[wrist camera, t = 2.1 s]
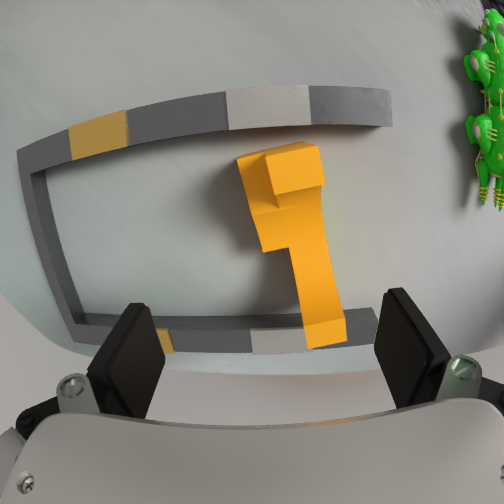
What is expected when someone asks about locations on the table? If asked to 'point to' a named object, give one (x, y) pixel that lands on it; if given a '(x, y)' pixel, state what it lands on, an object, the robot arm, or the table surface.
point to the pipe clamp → (296, 230)
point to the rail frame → (176, 125)
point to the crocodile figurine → (499, 96)
